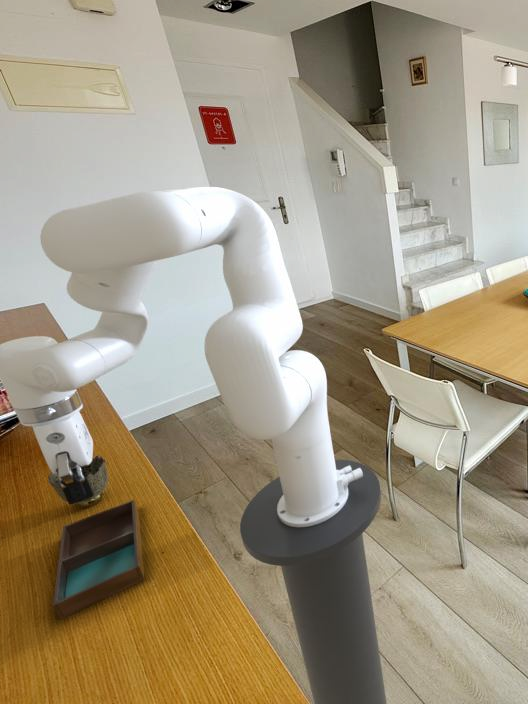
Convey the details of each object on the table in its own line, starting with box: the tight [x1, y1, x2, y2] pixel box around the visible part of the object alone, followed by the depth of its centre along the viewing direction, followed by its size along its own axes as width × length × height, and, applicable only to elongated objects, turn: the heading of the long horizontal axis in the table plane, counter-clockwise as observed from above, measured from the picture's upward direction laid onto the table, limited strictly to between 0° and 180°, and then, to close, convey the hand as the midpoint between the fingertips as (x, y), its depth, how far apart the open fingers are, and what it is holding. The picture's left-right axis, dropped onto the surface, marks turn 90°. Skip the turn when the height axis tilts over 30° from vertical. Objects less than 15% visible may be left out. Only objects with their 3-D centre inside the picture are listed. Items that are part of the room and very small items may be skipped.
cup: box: [47, 455, 109, 509], centre depth 78 cm, size 8×7×8 cm
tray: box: [52, 499, 145, 621], centre depth 67 cm, size 9×18×3 cm, turn 42°
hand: (83, 485), depth 78 cm, fingers open, 9 cm apart
